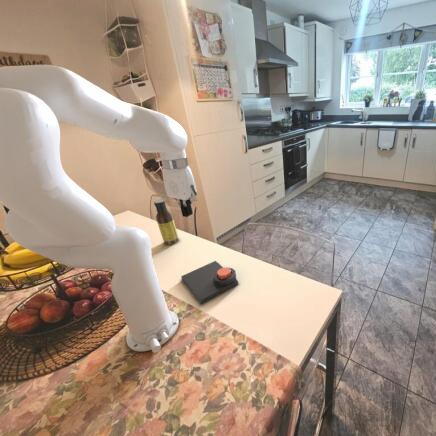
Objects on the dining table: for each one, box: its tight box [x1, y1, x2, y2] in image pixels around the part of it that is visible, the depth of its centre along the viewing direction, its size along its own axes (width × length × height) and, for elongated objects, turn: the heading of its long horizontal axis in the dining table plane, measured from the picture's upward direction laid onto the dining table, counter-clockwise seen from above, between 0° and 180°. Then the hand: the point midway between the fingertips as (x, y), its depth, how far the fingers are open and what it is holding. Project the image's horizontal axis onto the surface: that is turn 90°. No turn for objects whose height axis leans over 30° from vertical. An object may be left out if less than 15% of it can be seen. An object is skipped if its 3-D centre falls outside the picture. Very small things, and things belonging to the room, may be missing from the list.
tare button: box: [217, 267, 231, 279], centre depth 82 cm, size 4×4×2 cm
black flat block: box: [180, 260, 239, 305], centre depth 83 cm, size 16×14×4 cm
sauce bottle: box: [153, 198, 179, 246], centre depth 105 cm, size 6×6×20 cm
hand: (187, 215), depth 86 cm, fingers closed
